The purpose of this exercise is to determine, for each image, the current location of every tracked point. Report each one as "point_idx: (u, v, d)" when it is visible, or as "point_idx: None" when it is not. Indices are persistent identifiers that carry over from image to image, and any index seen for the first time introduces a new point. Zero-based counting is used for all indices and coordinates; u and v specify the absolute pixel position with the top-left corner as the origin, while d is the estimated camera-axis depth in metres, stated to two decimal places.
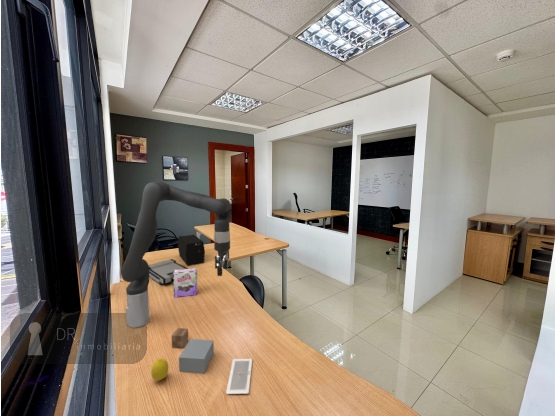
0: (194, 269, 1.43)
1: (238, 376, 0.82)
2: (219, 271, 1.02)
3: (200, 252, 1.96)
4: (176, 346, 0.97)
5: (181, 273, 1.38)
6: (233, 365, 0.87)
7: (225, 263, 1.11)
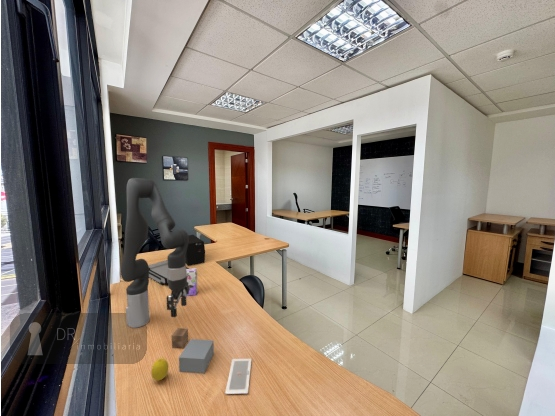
0: (194, 269, 1.43)
1: (237, 376, 0.82)
2: (172, 312, 0.92)
3: (201, 251, 1.97)
4: (176, 346, 0.97)
5: None
6: (232, 365, 0.87)
7: (183, 300, 1.01)
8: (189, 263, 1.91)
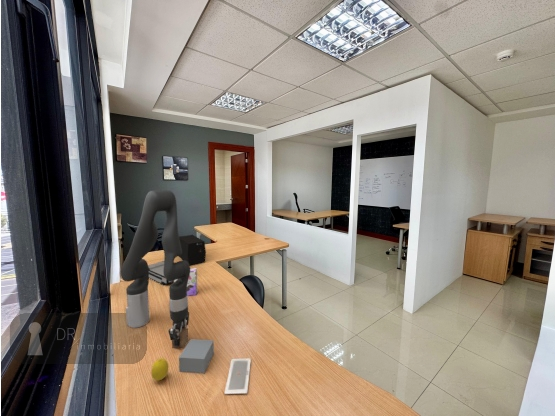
0: (194, 269, 1.43)
1: (237, 376, 0.82)
2: (176, 342, 0.95)
3: (202, 251, 1.97)
4: (176, 346, 0.97)
5: None
6: (231, 365, 0.87)
7: None
8: (190, 263, 1.92)
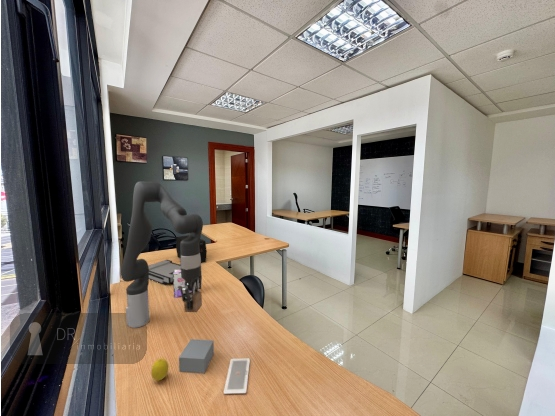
0: None
1: (236, 376, 0.83)
2: (189, 304, 0.85)
3: (202, 251, 1.98)
4: None
5: None
6: (230, 365, 0.87)
7: None
8: None
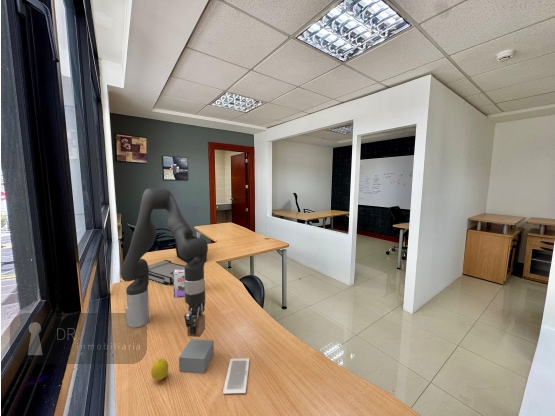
0: None
1: (235, 376, 0.83)
2: (192, 329, 0.84)
3: None
4: (192, 334, 0.86)
5: (181, 273, 1.38)
6: (230, 365, 0.87)
7: None
8: None
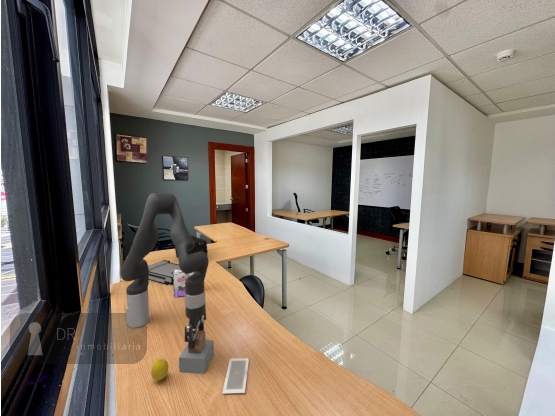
0: None
1: (235, 376, 0.83)
2: (190, 344, 0.83)
3: (204, 251, 1.99)
4: (193, 351, 0.86)
5: (181, 273, 1.38)
6: (229, 365, 0.87)
7: (201, 327, 0.92)
8: None
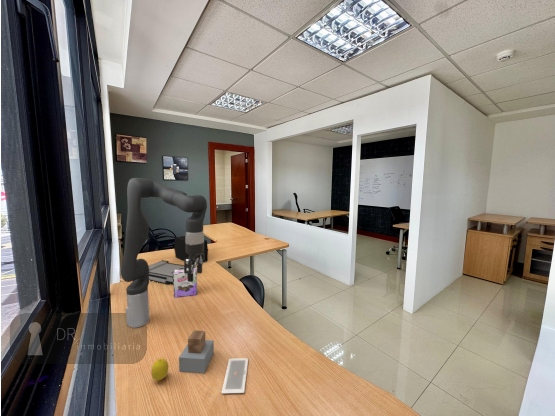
0: (194, 269, 1.43)
1: (234, 376, 0.83)
2: (189, 276, 0.91)
3: (204, 250, 2.00)
4: (193, 351, 0.86)
5: (181, 273, 1.38)
6: (229, 365, 0.87)
7: (199, 267, 1.00)
8: None
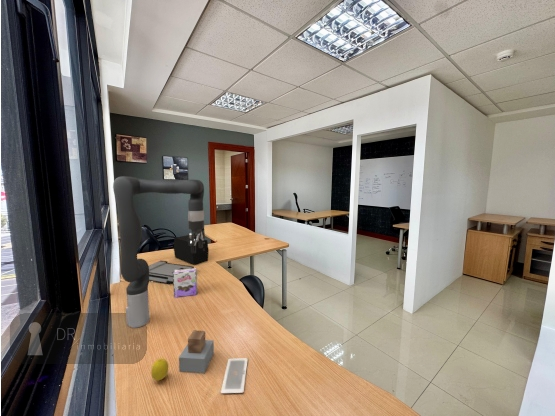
0: (194, 269, 1.43)
1: (233, 375, 0.83)
2: (192, 248, 1.07)
3: (205, 250, 2.01)
4: (193, 351, 0.86)
5: (181, 273, 1.38)
6: (228, 365, 0.87)
7: (200, 242, 1.16)
8: (195, 262, 1.93)
